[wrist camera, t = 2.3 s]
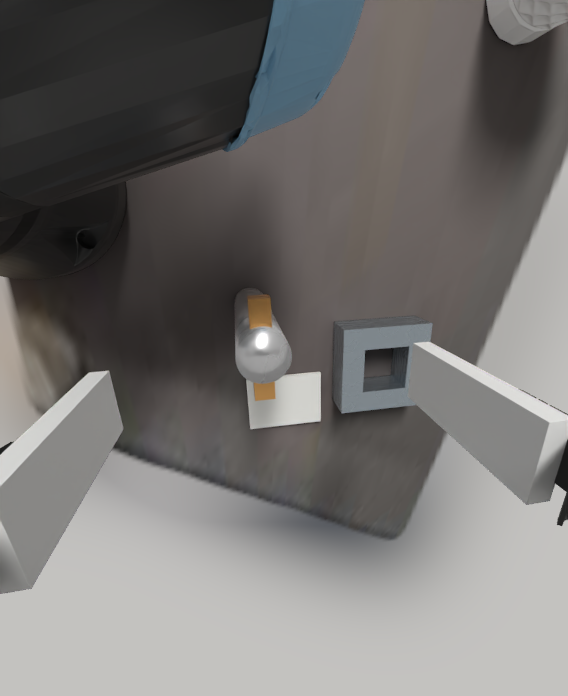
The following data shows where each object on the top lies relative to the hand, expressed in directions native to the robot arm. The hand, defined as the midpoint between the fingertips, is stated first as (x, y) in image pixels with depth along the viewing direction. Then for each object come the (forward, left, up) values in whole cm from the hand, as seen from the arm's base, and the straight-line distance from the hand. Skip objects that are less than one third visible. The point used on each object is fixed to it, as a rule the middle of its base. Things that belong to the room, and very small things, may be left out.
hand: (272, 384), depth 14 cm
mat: (+3, -11, -18) cm, 21 cm away
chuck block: (+13, -7, -18) cm, 23 cm away
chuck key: (0, 0, -18) cm, 18 cm away
